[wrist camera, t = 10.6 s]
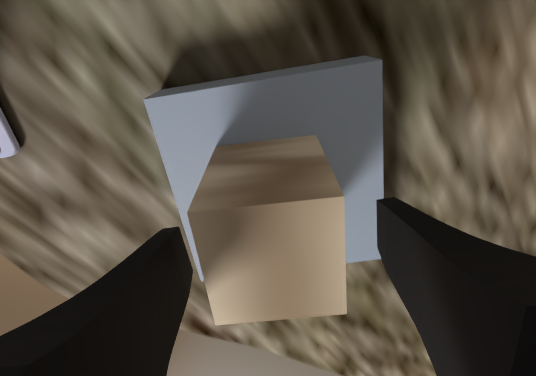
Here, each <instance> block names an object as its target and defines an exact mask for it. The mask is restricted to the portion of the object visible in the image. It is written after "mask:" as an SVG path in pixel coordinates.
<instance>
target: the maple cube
mask: <svg viewBox="0 0 536 376" xmlns="http://www.w3.org/2000/svg"><path fill="white" fill-rule="evenodd" d="M187 215H188V219H189V223H190V227H191V231H192V235H193V239H194V243H195V247H196V250H197V254H198V258H199V262H200V266H201V270H202V274H203V278H204V282H205V286H206V290H207V294H208V298H209V301H210V305H211V309H212V313H213V317H214V321H215V325H224V324H236V323H247V322H259V321H270V320H282V319H293V318H305V317H316V316H328V315H339V314H347V310H346V256H345V201H344V194H343V192H342V190H341V188H340V186H339V184H338V181H337V179H336V177H335V175H334V173H333V171H332V168H331V166H330V164H329V162H328V160H327V158H326V156H325V153H324V151H323V149H322V147H321V145H320V143H319V140H318V138H317V136H316V135H310V136H301V137H292V138H283V139H274V140H265V141H256V142H247V143H239V144H230V145H221V146H216V147H215V149H214V151H213V154H212V156H211V158H210V161H209V163H208V165H207V167H206V170H205V172H204V174H203V177H202V179H201V181H200V184H199V186H198V188H197V190H196V193H195V195H194V197H193V200H192V202H191V204H190V207H189V209H188V211H187Z"/></svg>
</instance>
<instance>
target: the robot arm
mask: <svg viewBox="0 0 536 376" xmlns="http://www.w3.org/2000/svg"><path fill="white" fill-rule="evenodd" d="M0 148H1V151H0V158H4V157H10V156H13V155H15V154H17V153H18V152H19V149H20V147H19V144H18V142H17V140H16V138H15V136H14V134H13V132H12V130H11V128H10V126H9V124H8V122H7V120H6V118H5V116H4V114H3V112H2V110H1V108H0ZM376 207H377V248H378V251H379V254H380V256H381V259H382V262H383V264H384V267H385V269H386V272H387V274H388V275H389V277H390V279H391V281H392V283H393V285H394V287H395V289H396V290H397V292H398V294H399V296H400V298H401V300H402V301H403V303H404V305H405V307H406V309H407V311H408V312H409V314H410V316H411V318H412V320H413V322H414V323H415V325H416V327H417V330H418V332H419V334H420V336H421V338H422V340H423V343H424V345H425V348H426V350H427V352H428V355H429V357H430V360H431V362H432V364H433V367H434V369H435V372H436V375H437V376H536V257H535V256H532V255H528V254H525V253H521V252H518V251H514V250H511V249H508V248H505V247H502V246H499V245H496V244H493V243H491V242H488V241H485V240H482V239H480V238H477V237H474V236H472V235H469V234H467V233H465V232H463V231H460V230H458V229H456V228H454V227H451V226H449V225H447V224H445V223H443V222H441V221H439V220H437V219H435V218H433V217H431V216H429V215H427V214H425V213H423V212H421V211H420V210H418V209H416V208H414V207H412V206H410V205H409V204H407V203H405V202H403V201H401V200H399V199H397V198H394V197H392V198H385V199H378V200H376ZM192 274H193V269H192V266H191V263H190V260H189V257H188V253H187V250H186V247H185V244H184V241H183V238H182V235H181V232H180V228H179V227H172V228H165V229H162V230H160V231H159V232H158V233H156V234H155V235H154V236H152V237H151V238H150V239H149V240H148V241H146V242H145V243H144V244H143V245H142V246H140V247H139V248H138V249H137V250H136V251H134V252H133V253H132V254H131V255H130V256H128V257H127V258H126V259H125V260H124V261H122V262H121V263H120V264H118V265H117V266H116V267H115V268H113V269H112V270H111V271H109V272H108V273H107V274H105V275H104V276H103V277H102V278H100V279H99V280H97V281H96V282H95V283H93V284H92V285H90V286H89V287H87V288H86V289H84V290H83V291H81V292H80V293H78V294H77V295H75V296H74V297H72V298H70V299H69V300H67V301H65V302H64V303H62V304H60V305H59V306H57V307H55V308H53V309H51V310H50V311H48V312H46V313H44V314H43V315H41V316H39V317H37V318H36V319H34V320H32V321H30V322H28V323H26V324H24V325H22V326H20V327H18V328H16V329H14V330H12V331H10V332H8V333H5V334H3V335H1V336H0V376H166V375H167V369H168V364H169V360H170V357H171V353H172V349H173V346H174V342H175V340H176V336H177V333H178V330H179V327H180V324H181V320H182V317H183V314H184V311H185V307H186V304H187V301H188V297H189V293H190V287H191V281H192Z"/></svg>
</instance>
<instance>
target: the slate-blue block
mask: <svg viewBox="0 0 536 376" xmlns="http://www.w3.org/2000/svg"><path fill="white" fill-rule="evenodd" d="M144 103H145V106H146V109H147V112H148V115H149V119H150V122H151V125H152V128H153V131H154V134H155V138H156V141H157V144H158V147H159V150H160V153H161V157H162V160H163V163H164V166H165V169H166V172H167V176H168V179H169V182H170V185H171V188H172V191H173V194H174V198H175V201H176V204H177V207H178V210H179V213H180V217H181V220H182V223H183V226H184V229H185V232H186V236H187V239H188V242H189V245H190V248H191V251H192V255H193V258H194V261H195V264H196V267H197V270H198V273H199V277H200V280H201V281H204V278H203V274H202V270H201V266H200V262H199V258H198V254H197V250H196V247H195V243H194V239H193V235H192V231H191V227H190V223H189V219H188V215H187V211H188V209H189V207H190V204H191V202H192V200H193V197H194V195H195V193H196V190H197V188H198V186H199V184H200V181H201V179H202V177H203V174H204V172H205V170H206V167H207V165H208V163H209V161H210V158H211V156H212V154H213V151H214V149H215V147H216V146H221V145H230V144H239V143H247V142H256V141H265V140H274V139H283V138H292V137H301V136H310V135H316V136H317V138H318V140H319V143H320V145H321V147H322V149H323V151H324V153H325V156H326V158H327V160H328V162H329V164H330V166H331V168H332V171H333V173H334V175H335V177H336V179H337V181H338V184H339V186H340V188H341V190H342V192H343V194H344V201H345V256H346V263H352V262H360V261H367V260H375V259H381V256H380V254H379V251H378V248H377V207H376V200H378V199H384V186H383V80H382V60H381V59H377V58H374V57H370V56H366V55H364V56H358V57H353V58H347V59H341V60H335V61H329V62H323V63H317V64H311V65H305V66H299V67H293V68H287V69H281V70H275V71H269V72H263V73H257V74H251V75H245V76H239V77H233V78H227V79H221V80H215V81H210V82H204V83H198V84H192V85H186V86H180V87H174V88H168V89H162V90H159V91H158V92H156V93H154V94H152V95H151V96H149V97H147V98H145V99H144Z"/></svg>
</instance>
